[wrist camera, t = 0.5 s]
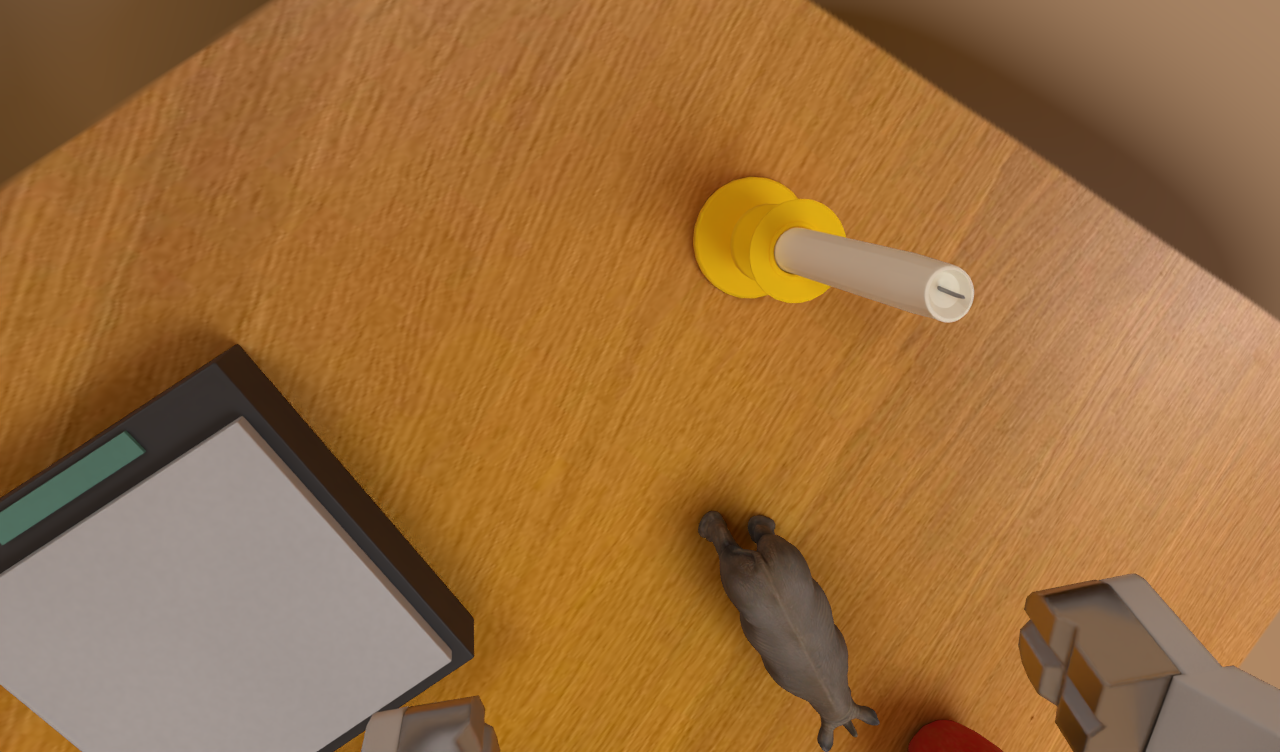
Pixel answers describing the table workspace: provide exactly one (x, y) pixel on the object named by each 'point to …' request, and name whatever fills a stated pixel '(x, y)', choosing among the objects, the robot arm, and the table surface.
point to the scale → (214, 583)
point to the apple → (949, 739)
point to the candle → (813, 255)
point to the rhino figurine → (787, 621)
